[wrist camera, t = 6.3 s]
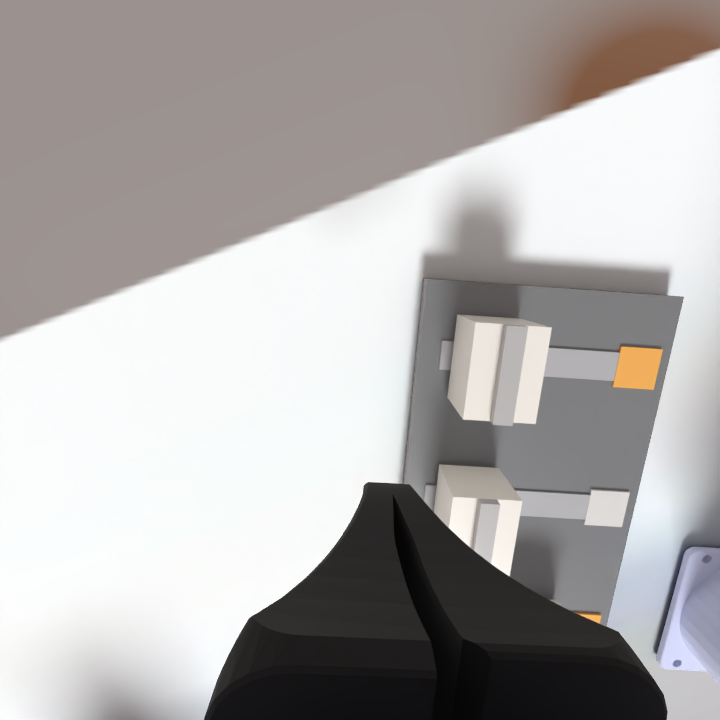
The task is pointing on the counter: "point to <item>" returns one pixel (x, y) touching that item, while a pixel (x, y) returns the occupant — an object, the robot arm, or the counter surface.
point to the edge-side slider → (498, 369)
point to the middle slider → (480, 510)
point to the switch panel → (553, 426)
